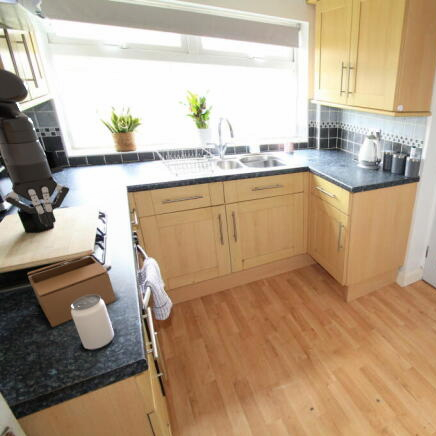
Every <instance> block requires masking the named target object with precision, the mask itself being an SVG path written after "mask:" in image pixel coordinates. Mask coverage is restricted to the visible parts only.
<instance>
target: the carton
mask: <svg viewBox="0 0 436 436" xmlns="http://www.w3.org/2000/svg"><path fill="white" fill-rule="evenodd" d="M27 277H28V280H29V282H30V284H31V287H32V289H33V291H34V293H35V296H36V299H37V302H38V303H39V305H40V307H41V309H42V311H43V313H44V315H45V316H46V318H47V321H48V322H49V324H50V327H52V328H55V327H57V326H59V325H61V324H64V323H66V322H68V321H70V320H73V317H72V314H71V310H72V307H71V305H72V303H73V302H74V301H76V300H77V299H79V298H81V297H83V296H87V295H99V296H100V298H101V299H102V300H103V301H104V303H105V306H107V305H109V304H111V303H112V302H115V301H117V299H116V294H115V291H114V289H113V285H112V282H111V278H110V275H109V272H108V270H107V269H106V268H105V267H104V266H103V265H102V264H101V262H100V261H97V260H96V258H95V257H93V255H89V256H85V257H82V258H79V259H76V260H73V261H70V262H67V263H63V264H60V265H57V266H54V267H51V268H48V269H45V270H42V271H39V272H35V273H32V274H29V275H28V276H27Z"/></svg>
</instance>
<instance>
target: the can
mask: <svg viewBox="0 0 436 436" xmlns="http://www.w3.org/2000/svg"><path fill="white" fill-rule="evenodd" d="M71 307H72V310H71V314H72V317H73V319H72V320H73V322H74V325H75V328H76V331H77V333H78V335H79V338H80V341H81V343H82V346H83V348H84V349H87V350H97V349H98V350H99V349H101V348H103V347H105V346H107V345H108V344H110V343H111V341H113V339H114V337H115V331H114V328H113V326H112V325H113V324H112V322H111V319H110V315H109V312H108V309H107V305H105V303H104V301H103V300H102V299H101V298H100V296H99V295H87V296H83V297H81V298H79V299H77V300H76V301H74V302H73V303H72V305H71Z"/></svg>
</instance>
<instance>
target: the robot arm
mask: <svg viewBox="0 0 436 436" xmlns="http://www.w3.org/2000/svg"><path fill="white" fill-rule="evenodd" d="M28 95H29V88H28V84H26V82H25V81H24V80H23V78H21V76H19V75H18V74H16V73H14V72H12V71H10V70H7V69H5V68H0V154H1V156H2V159H3V162H4V165H5V167H6V170H7V172H8V174H9V177H10V179H11V183H12V187H11V190H12V191H11V192H10V193H9V194H7V195H5V196H3V199H4V201H5V202H6V203H8V204H10V205H12V206H14V207H16V208H18V209H19V210H22V211H24V212H26V213H27V214H31V215H32V214H37V216H38V219H39V221H40V223H41V224H42V225H43V226H45V227H50V226H54V225H55V223H56V221H57V220H56V217H55V214H54V210H55V209H59V208H60V207H61V205H62V204H63V202H64V200H65V198H66V197H67V195H68V193H69V191H70V188H69V187H68V186H67V185H65V184H64V185H62V184H60V183H58V181H56V180H55V179H54V176H53V174H52V171H51V169H50V165H49V162H48V159H47V155H46V153H45V150H44V147H43V146H42V144H41V142H40V140H39V136H38V133H37V131H36V130H37V129H36V128H35V125H34V123H33V121H32V119H31V118H30V117H29V116H28V115H26V114H25V113H23V111H22V109H21V107H20V104H19V103H21V102H23V101H25V100H26V99H27V97H28ZM55 191H56V192H57V193H56V194H55V197H54V198H53V200H52V201H51V198H52V196H53V195H54V192H55ZM19 197H21V198H23V199H24V200H27V201H28V202H31V204H32V205H33V206H30V205H28V204H26V203H24V202H22V201H21V200H20V198H19ZM41 202H42V204H41Z"/></svg>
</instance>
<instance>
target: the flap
mask: <svg viewBox="0 0 436 436" xmlns="http://www.w3.org/2000/svg"><path fill="white" fill-rule="evenodd" d="M94 254H96V251H92V252H89V253H86V254H83V255H78V256H76V257H73V258H70V259H67V260H63V261H60V262H56V263H53V264H51V265H47V266H45V267H41V268H38V269H35V270H31V271H28V272H27V273H26V274H27V275H28V276H30V275H33V274H36V273H39V272H42V271H46V270H49V269H52V268H55V267H58V266H61V265H64V264H68V263H71V262H74V261H77V260H80V259H83V258H86V257H89V256H93V255H94Z"/></svg>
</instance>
